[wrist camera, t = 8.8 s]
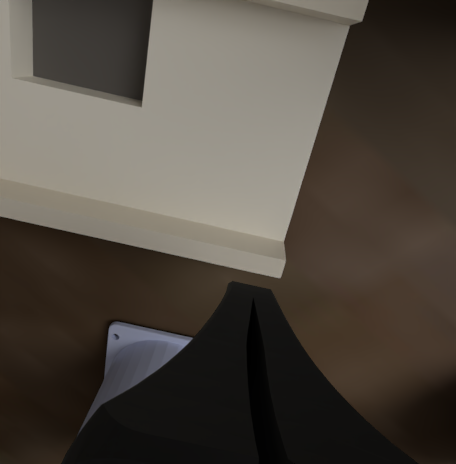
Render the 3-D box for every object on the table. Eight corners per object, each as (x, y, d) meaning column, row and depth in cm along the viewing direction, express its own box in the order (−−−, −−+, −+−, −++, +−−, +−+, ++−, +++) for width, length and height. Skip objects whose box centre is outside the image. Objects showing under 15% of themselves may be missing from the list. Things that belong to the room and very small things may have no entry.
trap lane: (277, 241, 22) (280, 278, 18) (-211, 132, 21) (-307, 148, 18) (348, 3, 17) (372, -11, 13) (-292, -148, 16) (-449, -206, 13)
